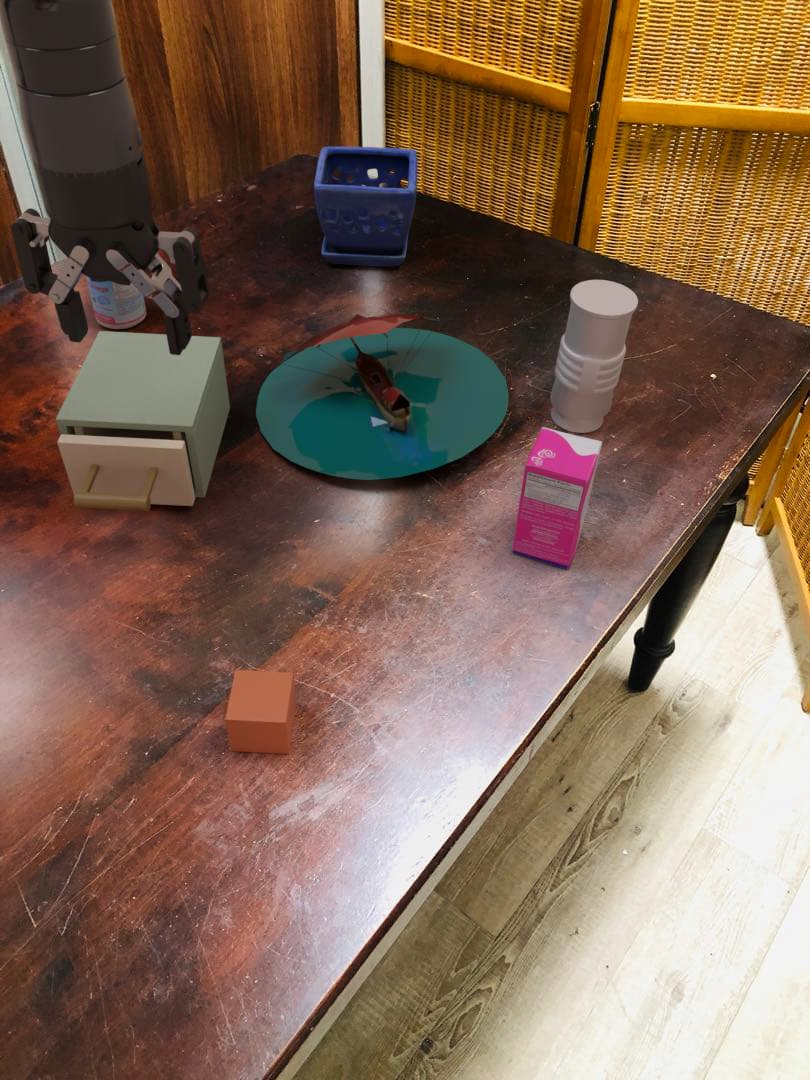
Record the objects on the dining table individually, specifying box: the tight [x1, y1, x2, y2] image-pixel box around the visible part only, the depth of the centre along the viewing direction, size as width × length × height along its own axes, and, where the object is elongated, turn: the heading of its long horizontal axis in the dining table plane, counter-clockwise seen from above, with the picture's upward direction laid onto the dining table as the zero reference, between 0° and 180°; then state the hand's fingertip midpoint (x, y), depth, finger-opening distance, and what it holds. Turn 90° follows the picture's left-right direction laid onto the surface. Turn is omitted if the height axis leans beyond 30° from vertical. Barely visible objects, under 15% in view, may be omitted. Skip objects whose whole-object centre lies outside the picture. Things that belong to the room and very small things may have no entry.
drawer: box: [56, 426, 196, 512], centre depth 85 cm, size 19×11×7 cm, turn 178°
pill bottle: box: [85, 275, 147, 330], centre depth 105 cm, size 6×6×11 cm
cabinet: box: [55, 330, 231, 499], centre depth 89 cm, size 15×13×9 cm
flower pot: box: [313, 146, 418, 267], centre depth 119 cm, size 13×13×12 cm
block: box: [224, 669, 297, 755], centre depth 68 cm, size 4×4×4 cm
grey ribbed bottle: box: [549, 279, 639, 434], centre depth 93 cm, size 7×7×15 cm
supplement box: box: [511, 426, 603, 571], centre depth 81 cm, size 6×6×12 cm
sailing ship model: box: [255, 313, 510, 481], centre depth 95 cm, size 28×28×11 cm
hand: (129, 343), depth 73 cm, fingers open, 8 cm apart
